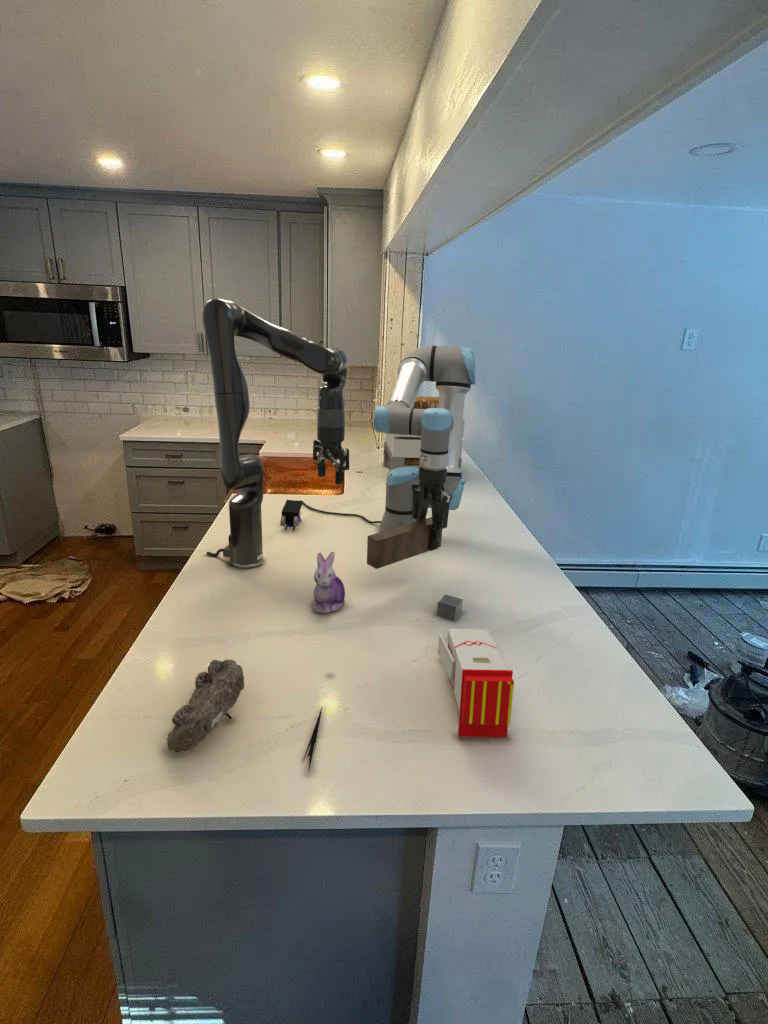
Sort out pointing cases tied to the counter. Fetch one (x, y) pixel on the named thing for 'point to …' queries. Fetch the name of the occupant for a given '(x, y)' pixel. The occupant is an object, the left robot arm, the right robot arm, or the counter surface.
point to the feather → (313, 740)
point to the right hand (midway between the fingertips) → (427, 546)
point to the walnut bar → (399, 543)
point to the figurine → (327, 586)
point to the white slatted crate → (410, 441)
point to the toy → (478, 682)
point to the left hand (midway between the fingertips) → (330, 480)
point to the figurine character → (291, 514)
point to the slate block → (449, 607)
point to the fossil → (206, 705)
